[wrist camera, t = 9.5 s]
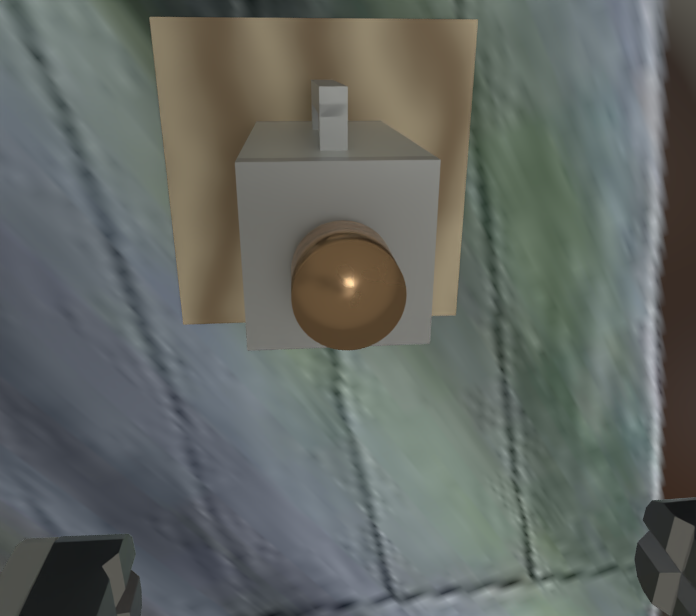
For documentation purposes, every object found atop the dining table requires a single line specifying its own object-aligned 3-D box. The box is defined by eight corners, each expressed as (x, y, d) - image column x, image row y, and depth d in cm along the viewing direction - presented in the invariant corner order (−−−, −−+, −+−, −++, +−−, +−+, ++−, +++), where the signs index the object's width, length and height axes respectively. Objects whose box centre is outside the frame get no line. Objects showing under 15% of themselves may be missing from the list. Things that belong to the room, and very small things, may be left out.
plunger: (278, 229, 41) (268, 375, 22) (274, 140, 38) (260, 217, 20) (363, 227, 41) (427, 369, 22) (364, 139, 39) (436, 213, 20)
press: (263, 242, 42) (247, 350, 26) (254, 77, 38) (229, 89, 22) (377, 239, 42) (429, 343, 27) (381, 77, 38) (444, 89, 23)
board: (186, 316, 45) (183, 324, 44) (154, 18, 37) (149, 16, 36) (450, 307, 47) (455, 315, 45) (471, 20, 39) (477, 19, 38)
